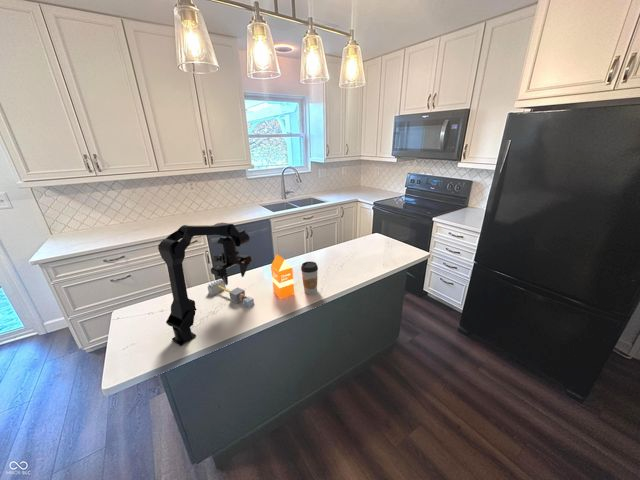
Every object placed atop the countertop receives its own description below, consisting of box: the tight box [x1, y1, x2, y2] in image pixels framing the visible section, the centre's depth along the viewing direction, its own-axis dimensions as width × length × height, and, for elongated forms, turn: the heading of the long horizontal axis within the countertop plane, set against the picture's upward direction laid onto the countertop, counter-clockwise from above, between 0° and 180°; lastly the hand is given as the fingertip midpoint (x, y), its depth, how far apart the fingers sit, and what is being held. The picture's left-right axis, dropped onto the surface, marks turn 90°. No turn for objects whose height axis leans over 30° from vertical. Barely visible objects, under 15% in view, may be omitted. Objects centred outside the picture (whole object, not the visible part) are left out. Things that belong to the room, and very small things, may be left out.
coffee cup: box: [300, 261, 319, 295], centre depth 128 cm, size 8×8×15 cm
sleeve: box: [228, 287, 246, 304], centre depth 124 cm, size 5×5×4 cm
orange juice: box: [270, 254, 295, 300], centre depth 127 cm, size 8×9×20 cm
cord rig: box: [207, 278, 255, 309], centre depth 127 cm, size 28×8×5 cm, turn 56°
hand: (234, 280), depth 121 cm, fingers open, 9 cm apart
